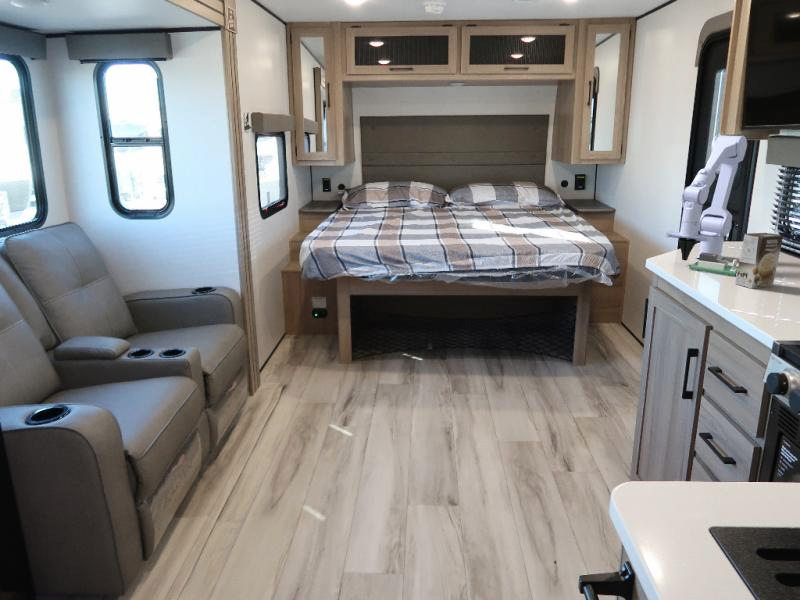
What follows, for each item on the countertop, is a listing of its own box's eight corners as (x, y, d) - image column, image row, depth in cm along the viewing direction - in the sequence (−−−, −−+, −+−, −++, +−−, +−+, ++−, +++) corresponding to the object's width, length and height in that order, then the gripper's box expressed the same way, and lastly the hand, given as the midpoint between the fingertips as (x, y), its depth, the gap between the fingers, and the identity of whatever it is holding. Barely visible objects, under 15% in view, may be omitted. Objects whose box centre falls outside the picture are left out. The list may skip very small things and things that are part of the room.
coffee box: (752, 289, 187) (762, 237, 182) (734, 283, 192) (743, 233, 188) (773, 286, 190) (784, 235, 185) (755, 281, 196) (765, 232, 191)
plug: (700, 263, 214) (702, 252, 213) (716, 265, 211) (718, 254, 210) (697, 265, 211) (699, 253, 210) (713, 267, 208) (715, 256, 207)
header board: (697, 263, 218) (699, 251, 217) (741, 270, 210) (743, 257, 209) (689, 269, 209) (691, 256, 208) (734, 276, 201) (736, 263, 200)
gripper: (665, 220, 213) (660, 258, 217) (710, 225, 204) (704, 265, 208) (671, 218, 218) (665, 255, 222) (715, 222, 209) (709, 261, 213)
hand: (684, 259), depth 215 cm, fingers closed
